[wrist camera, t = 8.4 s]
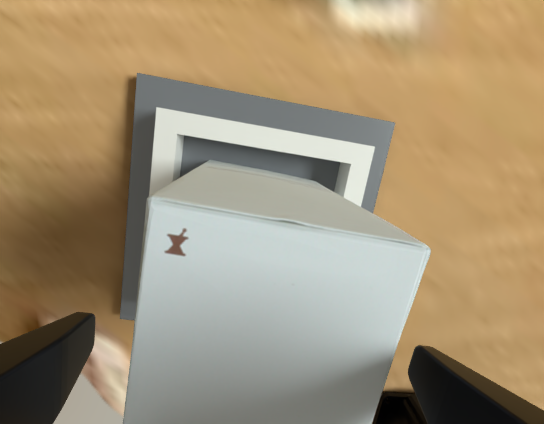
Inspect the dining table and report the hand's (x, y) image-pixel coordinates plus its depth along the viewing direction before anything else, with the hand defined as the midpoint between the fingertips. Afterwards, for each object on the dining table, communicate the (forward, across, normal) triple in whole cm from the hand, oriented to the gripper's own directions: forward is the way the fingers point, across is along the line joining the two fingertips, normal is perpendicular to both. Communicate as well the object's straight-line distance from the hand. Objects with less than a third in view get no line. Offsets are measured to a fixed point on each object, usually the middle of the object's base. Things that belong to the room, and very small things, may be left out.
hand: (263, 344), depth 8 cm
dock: (+13, 0, 0) cm, 13 cm away
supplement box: (+12, 0, 0) cm, 12 cm away
